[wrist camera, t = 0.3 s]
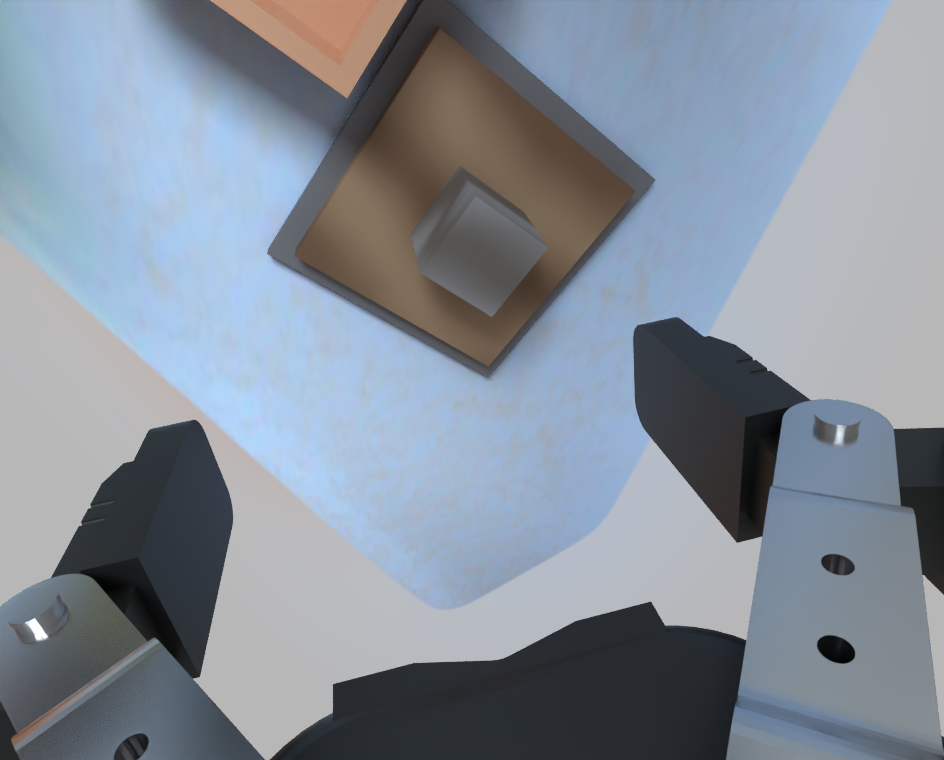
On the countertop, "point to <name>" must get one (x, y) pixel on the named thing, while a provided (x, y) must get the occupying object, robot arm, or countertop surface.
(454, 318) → the lid
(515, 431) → the countertop surface
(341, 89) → the terracotta storage tray
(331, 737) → the robot arm
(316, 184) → the mat
